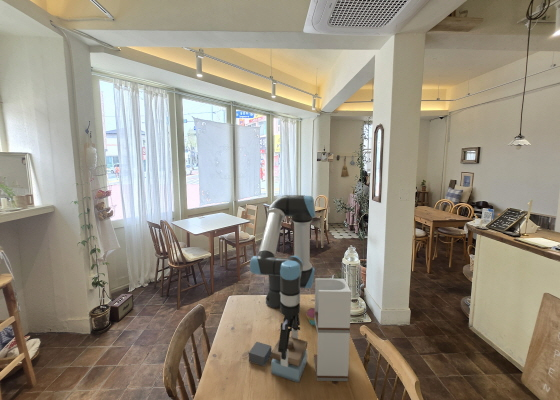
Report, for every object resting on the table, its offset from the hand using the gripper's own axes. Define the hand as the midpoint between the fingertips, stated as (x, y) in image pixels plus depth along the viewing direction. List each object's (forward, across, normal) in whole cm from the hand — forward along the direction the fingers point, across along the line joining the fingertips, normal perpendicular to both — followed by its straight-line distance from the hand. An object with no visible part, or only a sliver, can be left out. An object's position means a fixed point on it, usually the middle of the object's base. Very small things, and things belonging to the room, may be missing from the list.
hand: (289, 354), depth 97 cm
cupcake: (+6, -32, +2) cm, 32 cm away
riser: (+6, 0, -13) cm, 14 cm away
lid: (-1, 0, 0) cm, 1 cm away
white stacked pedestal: (+6, -5, +15) cm, 17 cm away
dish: (+6, 0, 0) cm, 6 cm away
